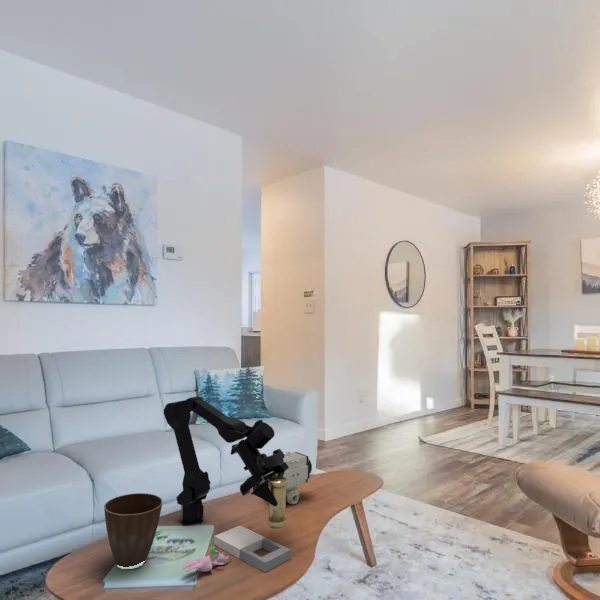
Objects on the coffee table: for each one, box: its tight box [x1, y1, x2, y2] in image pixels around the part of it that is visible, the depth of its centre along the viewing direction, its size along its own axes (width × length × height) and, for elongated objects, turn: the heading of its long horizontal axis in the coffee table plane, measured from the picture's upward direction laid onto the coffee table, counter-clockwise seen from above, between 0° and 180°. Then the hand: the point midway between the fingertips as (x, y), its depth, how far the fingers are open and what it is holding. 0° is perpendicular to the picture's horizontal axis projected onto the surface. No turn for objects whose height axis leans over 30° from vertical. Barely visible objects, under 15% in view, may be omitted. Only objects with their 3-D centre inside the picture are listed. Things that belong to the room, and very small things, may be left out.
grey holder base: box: [213, 525, 292, 573], centre depth 136 cm, size 22×10×2 cm, turn 49°
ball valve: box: [283, 451, 313, 505], centre depth 173 cm, size 18×8×18 cm, turn 131°
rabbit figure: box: [181, 545, 233, 573], centre depth 126 cm, size 6×6×15 cm
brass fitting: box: [266, 476, 288, 530], centre depth 139 cm, size 6×6×13 cm
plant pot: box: [103, 492, 163, 567], centre depth 128 cm, size 15×15×16 cm
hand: (281, 502), depth 138 cm, fingers closed on brass fitting, 5 cm apart
